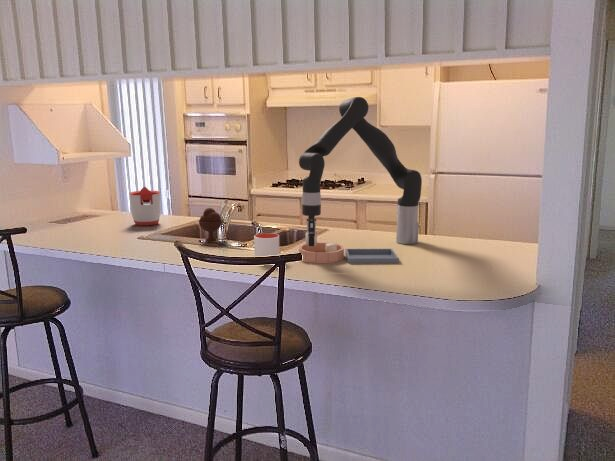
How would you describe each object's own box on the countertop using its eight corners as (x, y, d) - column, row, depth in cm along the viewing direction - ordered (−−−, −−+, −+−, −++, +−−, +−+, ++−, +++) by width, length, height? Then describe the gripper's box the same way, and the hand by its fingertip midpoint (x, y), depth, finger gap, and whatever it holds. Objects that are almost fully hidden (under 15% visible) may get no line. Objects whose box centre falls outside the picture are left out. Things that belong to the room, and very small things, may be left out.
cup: (282, 257, 230) (282, 233, 228) (275, 263, 221) (275, 239, 219) (259, 256, 233) (258, 232, 230) (251, 262, 223) (250, 237, 221)
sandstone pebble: (336, 254, 231) (336, 243, 230) (337, 257, 227) (337, 245, 225) (325, 254, 231) (325, 243, 230) (325, 257, 226) (325, 245, 225)
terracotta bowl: (341, 252, 238) (341, 242, 237) (344, 264, 220) (345, 252, 219) (299, 252, 238) (299, 242, 237) (299, 264, 220) (299, 253, 219)
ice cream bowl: (194, 241, 258) (193, 209, 255) (209, 236, 268) (208, 205, 265) (213, 244, 253) (211, 211, 250) (227, 239, 263) (226, 207, 260)
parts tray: (391, 254, 235) (392, 248, 234) (398, 264, 220) (398, 258, 219) (345, 254, 235) (345, 248, 234) (348, 264, 219) (348, 258, 219)
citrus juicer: (132, 228, 287) (130, 189, 282) (130, 222, 303) (127, 185, 298) (164, 226, 292) (162, 188, 288) (160, 220, 308) (158, 184, 304)
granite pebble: (316, 243, 230) (316, 232, 229) (317, 246, 225) (317, 234, 224) (305, 243, 230) (305, 232, 229) (305, 246, 225) (305, 234, 224)
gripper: (321, 206, 217) (321, 248, 221) (320, 200, 231) (319, 240, 235) (302, 206, 217) (302, 248, 221) (302, 200, 231) (302, 240, 235)
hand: (311, 244), depth 228 cm, fingers closed on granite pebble, 4 cm apart
